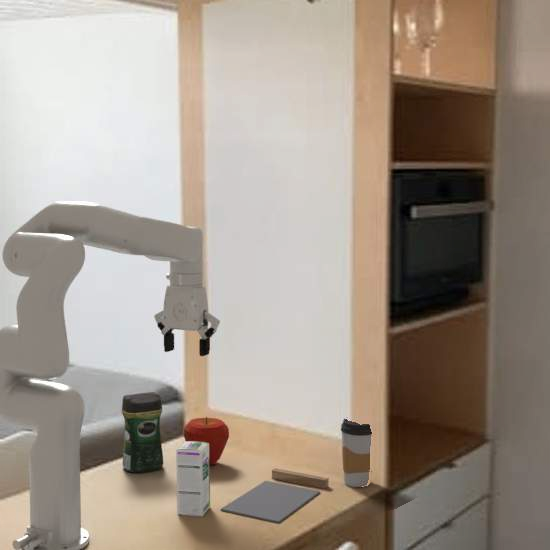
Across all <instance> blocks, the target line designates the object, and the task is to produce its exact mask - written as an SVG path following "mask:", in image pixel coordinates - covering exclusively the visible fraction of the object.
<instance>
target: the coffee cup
mask: <svg viewBox="0 0 550 550" xmlns="http://www.w3.org/2000/svg"><path fill="white" fill-rule="evenodd" d="M340 425H341V428H340V432H341V442H342V443H341V445H342V447H341V453H342V470H343V482H344V484H345V486H347V487H349V488H350V487H351V488H355V487H362V486H365V485H367V483H368V480H369V472H370V471H369V470H370V446H371V436H372V435H371V434H372V432H371V429H370V425H369V424H362V425H360V424H358V423H356V422H352V421H348V420H347V419H345V418H343V420H342V423H341V424H340Z"/></svg>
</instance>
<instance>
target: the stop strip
mask: <svg viewBox="0 0 550 550" xmlns="http://www.w3.org/2000/svg"><path fill="white" fill-rule="evenodd" d="M271 479H272V480H273V479H274V480H279V481H283V482H289V483H294V484H298V485H299V484H300V485H303V484H304V485H303V486H309V487H315V488H319V489H327V488H328V487H329V479H330V478H329V477H323V476H318V475H314V474H308V473H302V472H297V471H292V470H286V469H281V468H276V467H275V468H273V469H272V470H271Z"/></svg>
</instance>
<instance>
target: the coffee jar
mask: <svg viewBox="0 0 550 550" xmlns="http://www.w3.org/2000/svg"><path fill="white" fill-rule="evenodd" d="M121 401H122V404H121V413H122V417H123V418H124V439H123V450H122V467H123V468H124V470H125V471H127V472H131V473H134V474H135V473H144V472H145V473H146V472H150V471H155V470H159V469H161V468H163V465H164V454H163V445H162V438H161V430H160V429H161V425H160V423H161V422H160V419H161V415H162V413H163V405H162V404H163V403H162V399H161V396H160V394H158V393H157V392H155V391H150V392H140V393H139V392H138V393H135V394H126V395H124V396H122V400H121Z"/></svg>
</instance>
